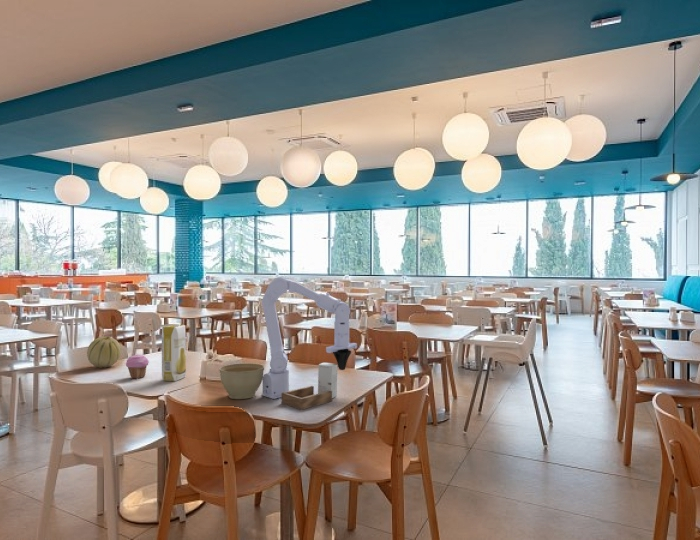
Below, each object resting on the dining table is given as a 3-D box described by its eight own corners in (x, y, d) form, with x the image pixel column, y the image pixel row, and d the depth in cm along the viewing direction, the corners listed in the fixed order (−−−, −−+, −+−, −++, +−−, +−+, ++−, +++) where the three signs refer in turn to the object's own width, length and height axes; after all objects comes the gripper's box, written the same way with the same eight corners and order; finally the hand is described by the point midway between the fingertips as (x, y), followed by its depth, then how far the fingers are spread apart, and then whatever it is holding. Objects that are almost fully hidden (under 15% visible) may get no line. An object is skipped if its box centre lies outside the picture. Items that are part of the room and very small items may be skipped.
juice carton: (176, 382, 197) (175, 324, 197) (159, 381, 198) (158, 324, 198) (188, 376, 206) (188, 322, 206) (171, 376, 207) (171, 321, 207)
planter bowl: (273, 395, 176) (273, 366, 176) (236, 405, 164) (236, 374, 164) (247, 388, 187) (247, 360, 187) (211, 396, 175) (210, 367, 174)
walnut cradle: (301, 409, 159) (301, 399, 159) (281, 403, 166) (281, 392, 166) (331, 401, 169) (331, 391, 168) (311, 395, 176) (311, 385, 176)
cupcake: (137, 380, 199) (137, 357, 199) (121, 379, 202) (121, 355, 202) (152, 376, 208) (152, 353, 208) (137, 374, 211) (136, 352, 210)
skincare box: (317, 396, 174) (317, 364, 174) (323, 394, 178) (323, 362, 178) (331, 399, 171) (331, 365, 171) (337, 396, 175) (337, 363, 175)
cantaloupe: (98, 363, 234) (97, 333, 234) (127, 364, 233) (126, 333, 233) (79, 370, 219) (79, 338, 219) (110, 370, 218) (110, 338, 218)
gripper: (335, 337, 172) (335, 374, 172) (362, 332, 182) (362, 368, 182) (322, 335, 177) (322, 371, 177) (349, 331, 187) (349, 365, 187)
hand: (341, 369), depth 180 cm, fingers closed
